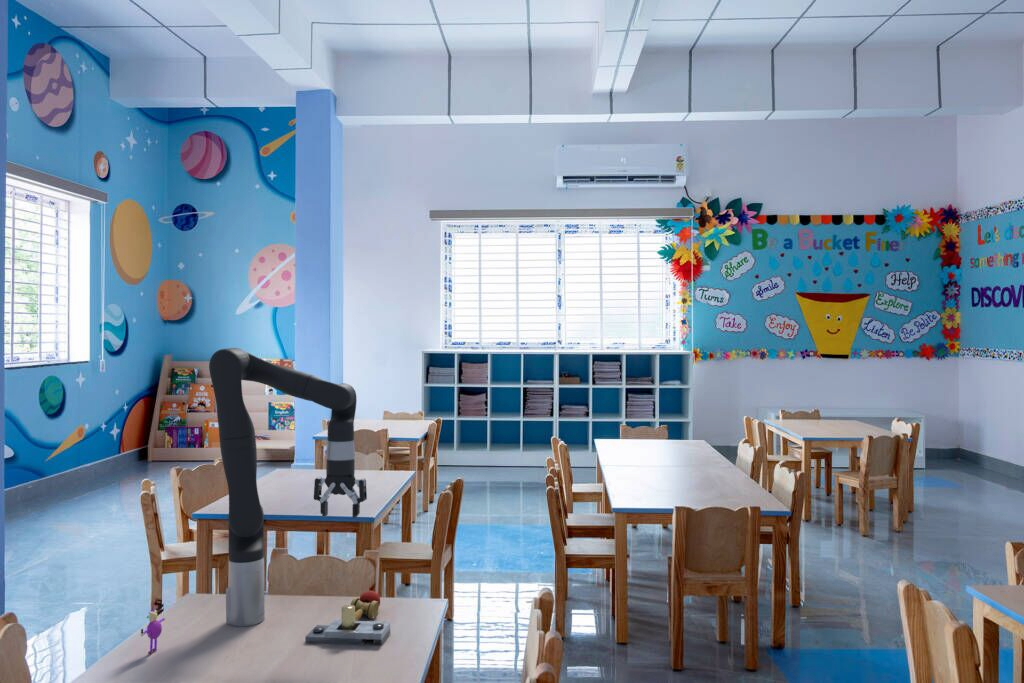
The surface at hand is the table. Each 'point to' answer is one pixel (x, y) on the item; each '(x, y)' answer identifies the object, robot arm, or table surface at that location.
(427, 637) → the table surface
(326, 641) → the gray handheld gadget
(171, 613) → the table surface
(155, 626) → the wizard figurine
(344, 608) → the brass pin
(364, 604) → the kendama
